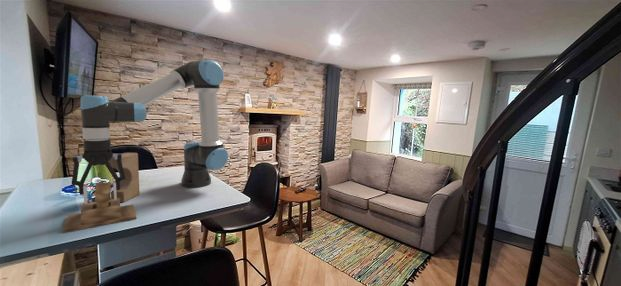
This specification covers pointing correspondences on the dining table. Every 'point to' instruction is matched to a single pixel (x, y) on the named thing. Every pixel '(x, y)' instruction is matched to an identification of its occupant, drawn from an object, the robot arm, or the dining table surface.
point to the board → (77, 219)
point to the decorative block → (127, 176)
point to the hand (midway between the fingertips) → (101, 200)
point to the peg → (102, 194)
